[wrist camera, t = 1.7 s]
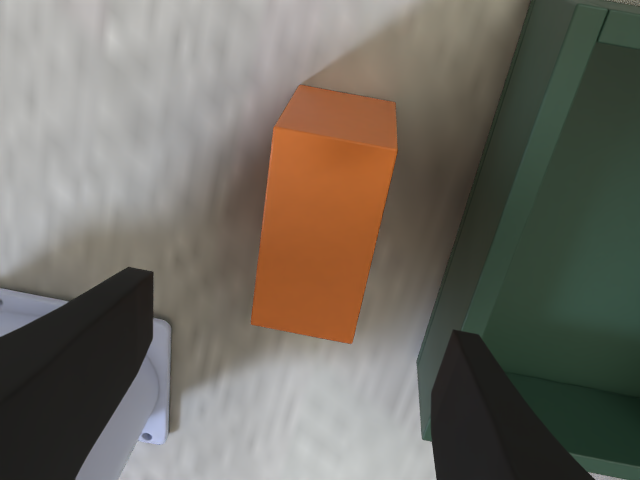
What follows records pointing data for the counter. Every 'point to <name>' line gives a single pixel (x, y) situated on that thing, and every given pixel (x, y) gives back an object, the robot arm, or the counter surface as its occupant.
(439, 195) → the counter surface
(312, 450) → the counter surface
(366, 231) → the orange block
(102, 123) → the counter surface
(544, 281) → the bin
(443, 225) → the counter surface
